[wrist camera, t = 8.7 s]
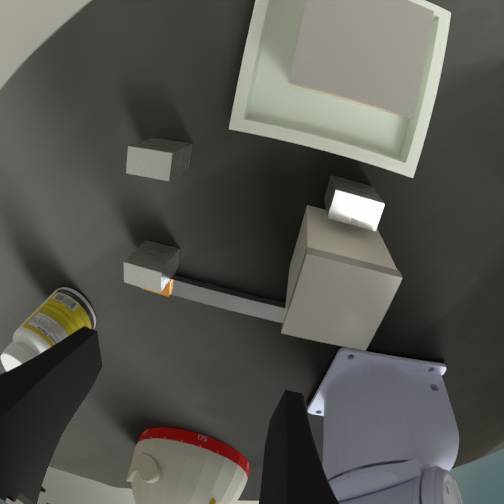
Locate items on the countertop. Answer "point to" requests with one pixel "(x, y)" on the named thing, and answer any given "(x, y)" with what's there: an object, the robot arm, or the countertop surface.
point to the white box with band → (363, 52)
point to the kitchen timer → (185, 469)
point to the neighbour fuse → (338, 282)
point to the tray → (323, 107)
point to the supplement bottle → (48, 326)
